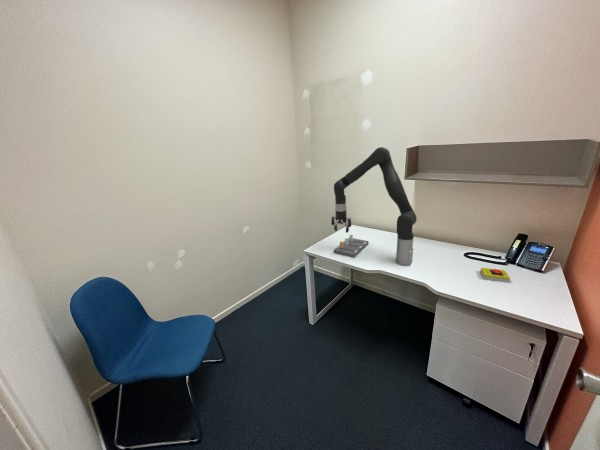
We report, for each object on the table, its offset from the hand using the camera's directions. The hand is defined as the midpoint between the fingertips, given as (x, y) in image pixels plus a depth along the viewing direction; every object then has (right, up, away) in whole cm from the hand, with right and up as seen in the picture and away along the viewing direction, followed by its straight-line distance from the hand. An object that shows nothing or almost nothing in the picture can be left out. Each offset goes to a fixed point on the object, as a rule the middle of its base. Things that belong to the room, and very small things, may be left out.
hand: (341, 231), depth 176 cm
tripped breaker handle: (+1, -12, +4) cm, 13 cm away
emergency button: (+78, -25, -38) cm, 90 cm away
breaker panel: (+9, -13, +9) cm, 18 cm away
